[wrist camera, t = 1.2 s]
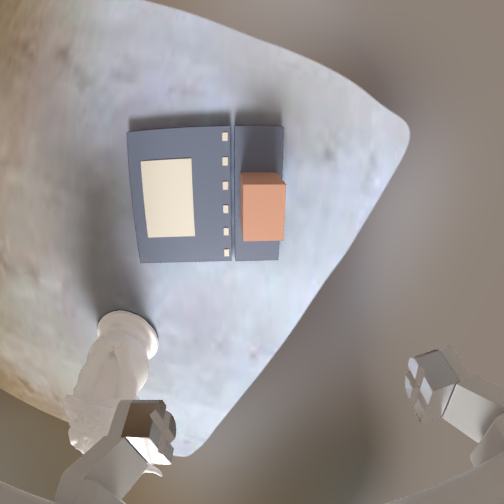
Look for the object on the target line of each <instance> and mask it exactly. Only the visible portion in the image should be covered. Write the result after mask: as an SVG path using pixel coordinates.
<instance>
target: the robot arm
mask: <svg viewBox="0 0 504 504" xmlns="http://www.w3.org/2000/svg"><path fill="white" fill-rule="evenodd" d="M408 367H409V369H410V371H409V372H408V373H407V374H406V378H405V388H406V392H407V395H408V397H409V399H410V400H411V401H413V402H415V403H416V405H415V408H414V411H415V413H416V415H417V417H418V419H419V422H420V424H423V423H426V422H429V421H431V420H434V419H437V418H440V417H442V418H443V419H445V420H446V421H448V422H449V423H451V424H452V425H453V426H455V427H456V428H457V429H459V430H460V431H462V432H463V433H465V434H466V435H467V436H469V437H470V438H472V439H473V440H475V441H476V442H478V443H479V444H478V445H477V446H476V448H475V449H474V451H473V452H472V453H471V456H470V459H471V461H472V463H473V466H474V468H472V469H470V470H468V471H466V472H464V473H462V474H460V475H458V476H456V477H454V478H452V479H449V480H447V481H445V482H443V483H440V484H438V485H436V486H433V487H431V488H428V489H426V490H423V491H420V492H418V493H415V494H412V495H410V496H407V497H404V498H401V499H398V500H395V501H392V502H389V503H386V504H504V388H502V387H500V386H498V385H496V384H494V383H492V382H490V381H487V380H485V379H483V378H481V377H479V376H477V375H475V376H472V375H471V373H470V371H469V370H468V368H467V367H466V366H465V364H464V363H463V361H462V360H461V358H460V357H459V355H458V354H457V353H456V351H455V350H454V348H453V347H452V346H451V345H448V346H445V347H442V348H439V349H435V350H432V351H430V352H426V353H423V354H420V355H418V356H415V357H411V359H410V360H409V363H408ZM175 436H176V423H175V420H174V417H173V416H172V414H171V413H169V412H168V411H166V405H165V403H164V402H163V400H121V401H120V402H119V403H118V405H117V408H116V411H115V414H114V417H113V420H112V423H111V426H110V429H109V433H108V436H104V437H102V438H101V439H100V440H99V441H98V442H97V443H96V444H95V445H94V446H92V447H91V448H90V449H89V450H88V451H87V452H86V453H85V454H83V455H82V456H81V457H80V458H79V459H78V460H77V461H76V462H74V463H73V464H72V465H71V466H70V467H69V468H68V469H66V470H65V471H64V472H63V473H62V476H61V479H60V482H59V486H58V489H57V492H56V495H55V498H54V501H50V500H47V499H44V498H41V497H38V496H35V495H33V494H30V493H28V492H25V491H23V490H20V489H18V488H15V487H13V486H10V485H8V484H6V483H4V482H2V481H0V504H126V503H125V502H123V501H122V500H121V499H122V498H123V497H124V496H125V495H126V493H127V492H128V491H129V490H130V489H131V487H132V486H133V485H134V484H135V482H136V481H137V480H138V479H139V477H140V476H141V475H142V474H143V472H144V471H145V470H146V469H147V467H148V466H149V464H171V462H172V456H173V450H174V448H173V447H172V445H171V444H170V443H171V442H172V441H173V440H174V439H175Z"/></svg>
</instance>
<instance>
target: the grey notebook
mask: <svg viewBox="0 0 504 504" xmlns="http://www.w3.org/2000/svg"><path fill="white" fill-rule="evenodd" d="M127 149H128V163H129V175H130V186H131V196H132V205H133V213H134V222H135V229H136V237H137V244H138V250H139V257H140V263H164V262H207V261H232V252H231V180H230V126H197V127H178V128H163V129H151V130H140V131H130V132H127Z"/></svg>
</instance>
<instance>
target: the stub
mask: <svg viewBox="0 0 504 504" xmlns="http://www.w3.org/2000/svg"><path fill="white" fill-rule="evenodd" d="M283 136H284V127H283V126H251V125H240V126H234V204H235V261H260V260H278V257H279V241H282V240H283V238H284V219H285V199H286V184H285V182H284V181H283V180H282V167H283Z"/></svg>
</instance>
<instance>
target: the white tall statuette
mask: <svg viewBox="0 0 504 504" xmlns="http://www.w3.org/2000/svg"><path fill="white" fill-rule="evenodd" d="M97 333H98V339H97V340H96V341H95V342H94V344H93V345H92V347H91V348H90V350H89V353H88V357H87V362H86V363H85V365H84V366H83V367H82V369H81V371H80V374H79V378H78V382H77V385H76V386H75V389H74V394H73V396H72V395H67V396H66V397H65V403H64V409H65V413H66V415H67V417H68V419H69V421H70V422H69V426H70V429H69V431H68V432H69V433H68V434H69V438H70V443H71V445H73V446H74V447H75V448H76V449H77V450H80V451H81V452H82V453H83V454H85V453H86V452H87V451H88V450H89V449H90V448H91V447H92V446H94V445H95V444H96V443H97V442H98V441H99V440H100V439H101V438H102V437H104V436H108V433H109V429H110V426H111V423H112V420H113V417H114V414H115V411H116V408H117V405H118V403H119V402H120V401H121V400H139V398H138V397H137V396H136V393H137V392H138V391H139V390H140V389H141V388H142V387H143V385H144V384H145V382H146V380H147V377H148V373H149V359H150V358H152V357H153V356H154V355H155V353H156V352H157V350H158V338H157V334H156V332H155V330H154V329H153V327H151V326H150V325H149V324H148V323H147V321H146V320H144V318H142V317H141V316H138V315H135V314H133V313H131V312H128V311H122V310H118V311H113V312H111V313H108V314H106V315H105V316H104V317H103V318H102V319H101V320H100V322H99V324H98V328H97ZM145 472H149V473H156V474H158V475H159V476H161V477H162V473H161V471H160V470H159V469H157V468H156V467H154V466H153V465H151V464H149V466H148V467H147V469H146V470H145V471H144V472H143V473H145Z"/></svg>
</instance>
